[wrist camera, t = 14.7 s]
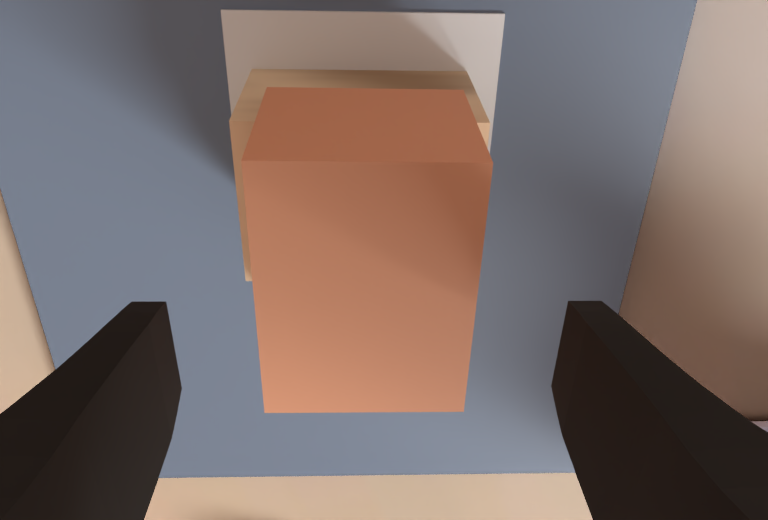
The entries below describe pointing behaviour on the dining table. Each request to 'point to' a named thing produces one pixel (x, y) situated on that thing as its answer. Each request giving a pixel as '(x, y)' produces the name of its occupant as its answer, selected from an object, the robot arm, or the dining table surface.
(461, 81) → the oak brick
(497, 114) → the slate board
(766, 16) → the dining table surface
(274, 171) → the terracotta brick
